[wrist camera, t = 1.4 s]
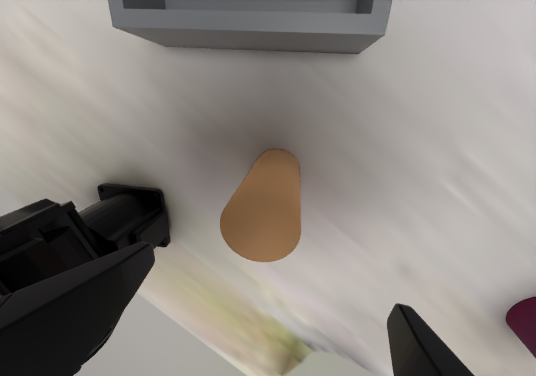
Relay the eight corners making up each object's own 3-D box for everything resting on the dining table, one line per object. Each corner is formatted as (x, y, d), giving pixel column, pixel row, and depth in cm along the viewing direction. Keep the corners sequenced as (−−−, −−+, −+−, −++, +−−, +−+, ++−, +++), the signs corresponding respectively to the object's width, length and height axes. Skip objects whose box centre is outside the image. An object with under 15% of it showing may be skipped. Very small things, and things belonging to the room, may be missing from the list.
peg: (253, 190, 20) (221, 256, 12) (254, 147, 18) (218, 188, 10) (297, 195, 20) (296, 266, 11) (302, 151, 18) (305, 196, 10)
